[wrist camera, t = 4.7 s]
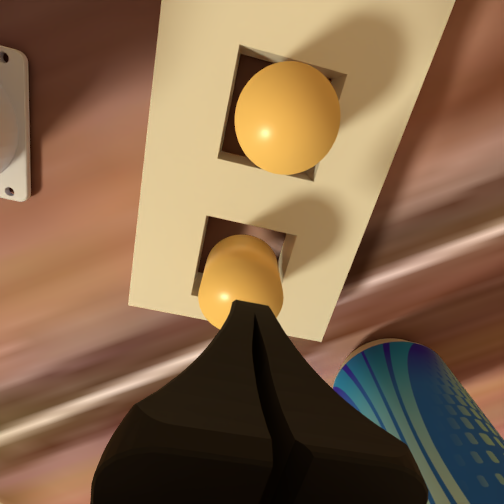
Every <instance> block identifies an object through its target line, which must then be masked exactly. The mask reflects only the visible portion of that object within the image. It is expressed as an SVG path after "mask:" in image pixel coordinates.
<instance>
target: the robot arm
mask: <svg viewBox="0 0 504 504" xmlns="http://www.w3.org/2000/svg"><path fill="white" fill-rule="evenodd" d="M4 53H7V55H8V57H9V61H8V62H7V63H6V62H5V61H4V59H3V55H4ZM9 188H12V189H13V190H14V194H12V193H11V192H10V190H9ZM30 196H31V172H30V122H29V73H28V59H27V57H26V56H25V54H24V53H23V52H21V51H19V50H16V49H13V48H9V47H5V46H1V45H0V198H5V199H10V200H14V201H19V202H23V201H26V200H28V199H29V198H30ZM428 491H429V490H428V488H427V485H426V483H425V480H424V478H423V476H422V474H421V472H420V469H419V467H418V465H417V463H416V461H415V459H414V457H413V455H412V453H411V451H410V449H409V447H408V446H407V444H405V443H404V442H402V441H401V440H399V439H398V438H396V437H395V436H393V435H392V434H390V433H389V432H387V431H386V430H384V429H383V428H381V427H380V426H378V425H376V424H375V423H374V422H372V421H371V420H370V419H368V418H367V417H366V416H364V415H363V414H362V413H360V412H359V411H358V410H356V409H355V408H354V407H353V406H352V405H350V404H349V403H348V402H347V401H346V400H344V399H343V398H342V397H341V396H340V395H339V394H338V393H337V392H335V391H334V390H333V389H332V388H331V387H330V386H329V385H328V384H327V383H326V382H325V381H324V380H323V379H322V378H321V377H320V376H319V375H318V374H317V373H316V372H315V371H314V369H313V368H312V367H311V366H310V365H309V364H308V363H307V362H306V360H305V359H304V358H303V357H302V355H301V354H300V353H299V351H298V350H297V349H296V348H295V346H294V345H293V343H292V342H291V340H290V339H289V337H288V336H287V335H286V333H285V331H284V330H283V328H282V327H281V325H280V323H279V322H278V320H277V318H276V317H275V315H274V313H273V312H272V310H271V308H270V307H269V306H268V305H262V304H257V303H252V302H246V301H241V300H234V301H233V302H232V305H231V309H230V313H229V315H228V317H227V319H226V321H225V322H224V324H223V326H222V328H221V329H220V331H219V332H218V333H217V335H216V336H215V338H214V339H213V340H212V342H211V343H210V344H209V345H208V347H207V348H206V349H205V350H204V351H203V352H202V353H201V355H200V356H199V357H198V358H197V359H196V360H195V361H194V362H193V363H192V364H190V365H189V366H188V367H187V368H186V369H185V370H184V371H183V372H182V373H180V374H179V375H178V376H177V377H175V378H174V379H173V380H171V381H170V382H169V383H167V384H166V385H165V386H164V387H162V388H161V389H159V390H158V391H156V392H155V393H153V394H151V395H150V396H148V397H146V398H145V399H143V400H141V401H140V402H138V403H136V404H135V405H134V406H133V407H132V408H131V409H130V411H129V412H128V413H127V415H126V416H125V417H124V419H123V420H122V422H121V423H120V425H119V426H118V428H117V429H116V431H115V432H114V434H113V435H112V437H111V439H110V441H109V443H108V444H107V446H106V448H105V450H104V452H103V454H102V457H101V459H100V461H99V464H98V466H97V469H96V471H95V474H94V477H93V481H92V486H91V503H90V504H427V502H428Z"/></svg>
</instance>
